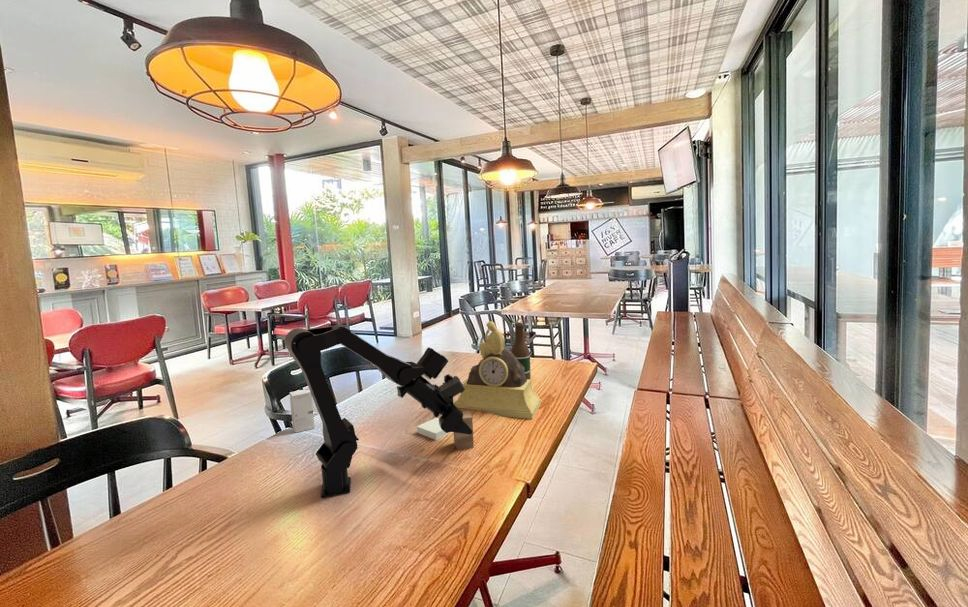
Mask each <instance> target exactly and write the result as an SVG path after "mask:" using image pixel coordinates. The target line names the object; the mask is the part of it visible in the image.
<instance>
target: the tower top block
mask: <svg viewBox="0 0 968 607" xmlns="http://www.w3.org/2000/svg"><path fill="white" fill-rule="evenodd" d="M439 418H440V417H437V418H436V417H434V418H432V419H430V420H427V421H426V422H423V423H422V424H419V425H417V426H416V433H419V434H418V435H421V436H425V437H426V438H429V439H431V440H435V441H438V440H439V439H440V440H441V438H444V437H445V436H447V435H449V434H451V433H452V432H448V433H446V432H444V431H443V430H442V429H441V427H440V425H439Z"/></svg>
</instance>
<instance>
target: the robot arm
mask: <svg viewBox="0 0 968 607" xmlns="http://www.w3.org/2000/svg"><path fill="white" fill-rule="evenodd" d="M339 345H342V346H343V347H345V348H347V349H348V350H350V351H352V352H353V353H354V354H356V355H358V356H359V357H361V358H362V359H364V360H365V361H367V362H369V363H371V364H372V365H373V366H374V367H375V368H376V369H377V370H378V371H379V372H380V373H381V374H382V375H383V376H385V377H386V379H387V380H390V382H393V383H395V385H397V386H396V390H397V396H398V397H399V398H401V399H403V398H404V397H405V395H406V394H407V395H408V396H410V397H412V398H413V399H414V400H415V401H417V402H418V403H419V404H420V405H421V408H423V409H427V410H428V411H429V412H431V413H432V415H433V416H434V418H439V425H440V427H441V429H442V430H443V431H444V432H446V433H448V432H451V433H454V432H456V433H463V434H469V435H471V434H472V433H473V434H474V430H473V431H472V429H471V428H470V427H469V426H468V425H467V424H466V423H465V421H464V420H463V413H462V412H463V411H462V410H461V408H458V407H457V406H455V405H454V404H453V403H454V397H456V396H457V395H460V394H461V393H462V392H463V391H464V390H465V388H464V386H463V385H462V384H463V383H462V381H461V379H460V378H459V377H458V375H453V376H452V375H451V374H449V373H447V374H446V375H444V376H443V382H442V384H440V385H439V386H438V385H437V384H436V383H435V384H434V383H433V384H432V383H431V382H430V381H429V380H432V379H434V380H435V379H437V378H438V377H439V375H440V374H441V373H442V372H443V369H444V368H445V367H447V365H448V363H449V359H447V358H446V356H444V355H443V354H440V352H438V351H436V350H434V349H433V348H431V347H427V348H426V349H425V351H424V352H423V355H422V356H420V358H419V359H418V361H417V362H416V363H415V362H413V361H404V360H401V359H399V358H397V357H394V356H391V355H389V354H386V353H385V352H383V351H382V350H380V349H379V348H377V347H376V346H374V345H373V344H371V343H370V342H368V341H366V339H364V338H362V337H361V336H359V335H357V334H356V333H355V332H353V331H351V330H350V328H349V327H347V326H344V325H342V324H334V325H331V326H324V327H323V326H322V327H315V328H310V329H304V328H300V327H297V328H296V327H295V328H293V329H291V330H290V331H289V332H288V333H287V334H286V336H285V338H284V346H285V348H286V349H287V351H288V352H289V354H290V355H291V357H292V359H293V360H294V361H295V363H296V364H297V366H298V367H299V368H300V370H301V372H302V375H303V376H304V379H305V382H306V384H307V386H308V389H309V390H310V392H311V395H312V401H313V403H314V405H315V407H316V409H317V412H318V416H319V417H320V419H321V420H320V421H321V422H322V437H323V442H322V444H321V445H320V447H319V448H318V449H317V450H316V452H315V456H316V458H317V459H318V461H319V462H320V463H321V465H320V467H321V468H320V470H321V480H322V481H321V483H322V485H321V491H320V498H323V499H324V498H328V497H333V496H338V495H344V494H349V493H350V492H351V488H352V487H351V482H352V478H351V477H352V476H349V472H348V469H349V468H350V467H351V462H352V459H353V456H354V455H355V453H356V451H357V450H358V441H359V440H360V439H359V437H357V435H356V432H355V427H354V425H353V424H352V423H351V422H350V421H349V420H348V419H347V418H346V417H343V418H341V415H340V412H339V410H338V407H337V404H336V401H335V399H334V396H333V394H332V391H331V388H330V384H329V383H328V380H327V378H326V375H325V373H324V372H325V371H324V369H323V366H322V351H325V350H327V349H330V348H333V347H335V346H339ZM423 376H424V377H423ZM427 379H428V380H427ZM440 415H441V416H440ZM439 416H440V417H439Z"/></svg>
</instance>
